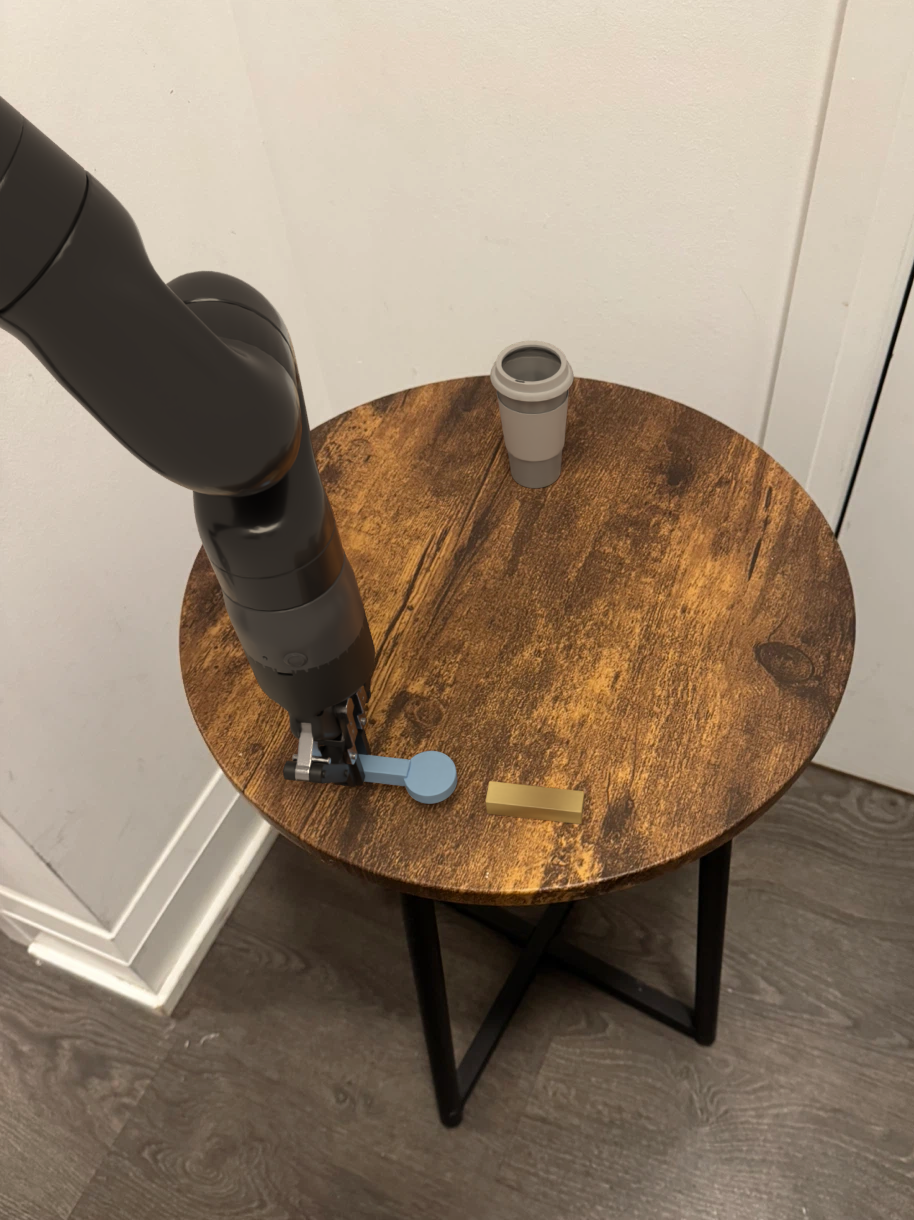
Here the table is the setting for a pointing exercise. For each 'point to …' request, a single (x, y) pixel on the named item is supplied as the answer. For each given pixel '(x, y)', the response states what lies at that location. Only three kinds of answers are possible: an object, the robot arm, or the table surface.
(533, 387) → the cup
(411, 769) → the spoon
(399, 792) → the table surface
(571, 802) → the fry stick
